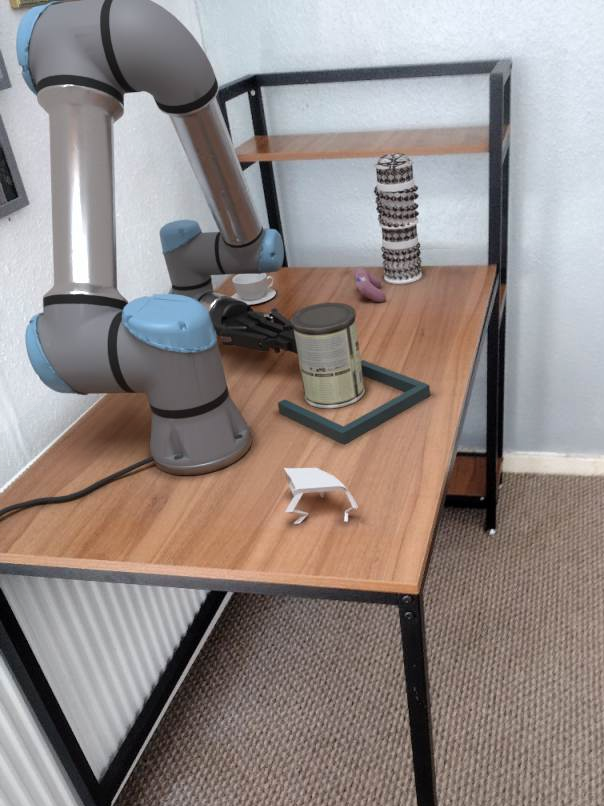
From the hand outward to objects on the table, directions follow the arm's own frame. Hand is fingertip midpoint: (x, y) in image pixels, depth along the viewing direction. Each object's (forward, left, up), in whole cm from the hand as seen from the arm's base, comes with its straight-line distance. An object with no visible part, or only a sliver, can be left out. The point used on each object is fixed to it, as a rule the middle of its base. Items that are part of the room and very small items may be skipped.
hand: (307, 348), depth 132 cm
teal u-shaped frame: (+3, -10, -7) cm, 13 cm away
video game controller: (+27, +30, -7) cm, 41 cm away
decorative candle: (+38, +35, -7) cm, 52 cm away
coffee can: (+2, -5, -7) cm, 9 cm away
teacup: (+7, +47, -7) cm, 48 cm away
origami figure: (-15, -34, -7) cm, 38 cm away
